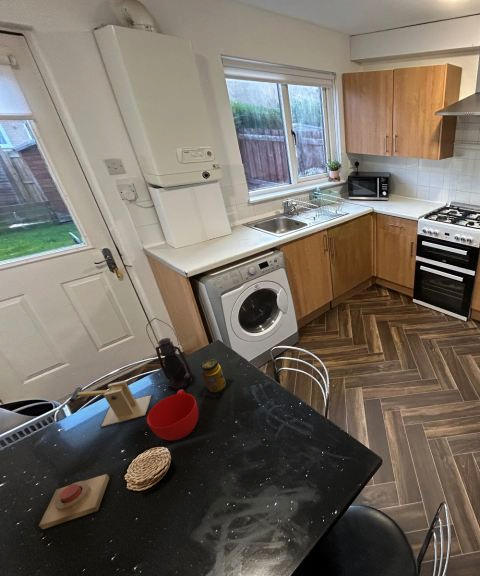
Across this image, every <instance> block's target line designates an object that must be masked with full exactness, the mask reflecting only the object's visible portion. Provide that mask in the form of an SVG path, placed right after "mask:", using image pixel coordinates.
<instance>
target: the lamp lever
mask: <svg viewBox="0 0 480 576" xmlns="http://www.w3.org/2000/svg"><path fill="white" fill-rule="evenodd" d="M119 389H121V390H122V391H123V386H117V387H112V388H111V390H110V389H104V390H102V389H101V390H90V391H89V390H88V391H82V390H83V388H82V387H81V386H79V387H76V388H75V390H74V391H73V393H72V395H71V396H70V398H69V401H68V402H70V403H75V402H76V401H77V399H78V398H79V397H80V398H81V397H94V396H104V393H107V392H111V391H115V390H119Z"/></svg>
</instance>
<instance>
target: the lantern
mask: <svg viewBox="0 0 480 576" xmlns="http://www.w3.org/2000/svg"><path fill="white" fill-rule="evenodd" d="M155 319H156V320H158V321H159V322H162V323H164V324H166V325H167V326H169V324H168V323H167V322H165V321H163V320H162V319H158V318H157V317H153V318H152V319H151V320H150V321H149V322H148V323H147V324H146V328H145V329H146V330H145V331H146V334H147V336H148V339H149V340H150V343H151V344H152V347H154V350H155V352H156V356H157V359H158V362H159V365H160V368H161V370H162V372H163V374H164V377H165V378H166V379H167V380H169V388H172V389H174V390H180V389H183V388H185V387H187V386H188V385H189V384H191V383H192V381H193V380H192V379H194V375H193V373H192V370H191V368H190V365H189V363H188V361H187V359H186V358H185V356H184V354H183V352H182V350H181V348H180V347H181V346H180V343H179V338H178V336H177V335H176V332H175V331H174V328H173V327H171V326H170V328H171V330H172V331H173V334H174V335H175V337H176V341H177V345H178V346H176V345H174V343H173V341H172V340H171V338H169V337H165V338H162V339H160V340H159V341H158V343H157V344H158V345H159V346H156V347H155V345H154V343H153V341H152V339H151V337H150V335H149V331H148V325H150V324H151V323H152V322H153V321H154V320H155ZM162 357H164V362H163V358H162Z"/></svg>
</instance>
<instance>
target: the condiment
mask: <svg viewBox="0 0 480 576" xmlns="http://www.w3.org/2000/svg"><path fill="white" fill-rule="evenodd" d="M201 371H202V372H201V375H202V377H203V381H205V385H206V388H207V390H208V392H210V393H217V392H220V391H222V390H223V389H224V388H226V385H227V382H226V379H225V376H224V373H223V370H222V367H221V365H220V363H219V362H218V360H217V359H215V358H210V359H207V360H205V361H203V362H202V364H201Z"/></svg>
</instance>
